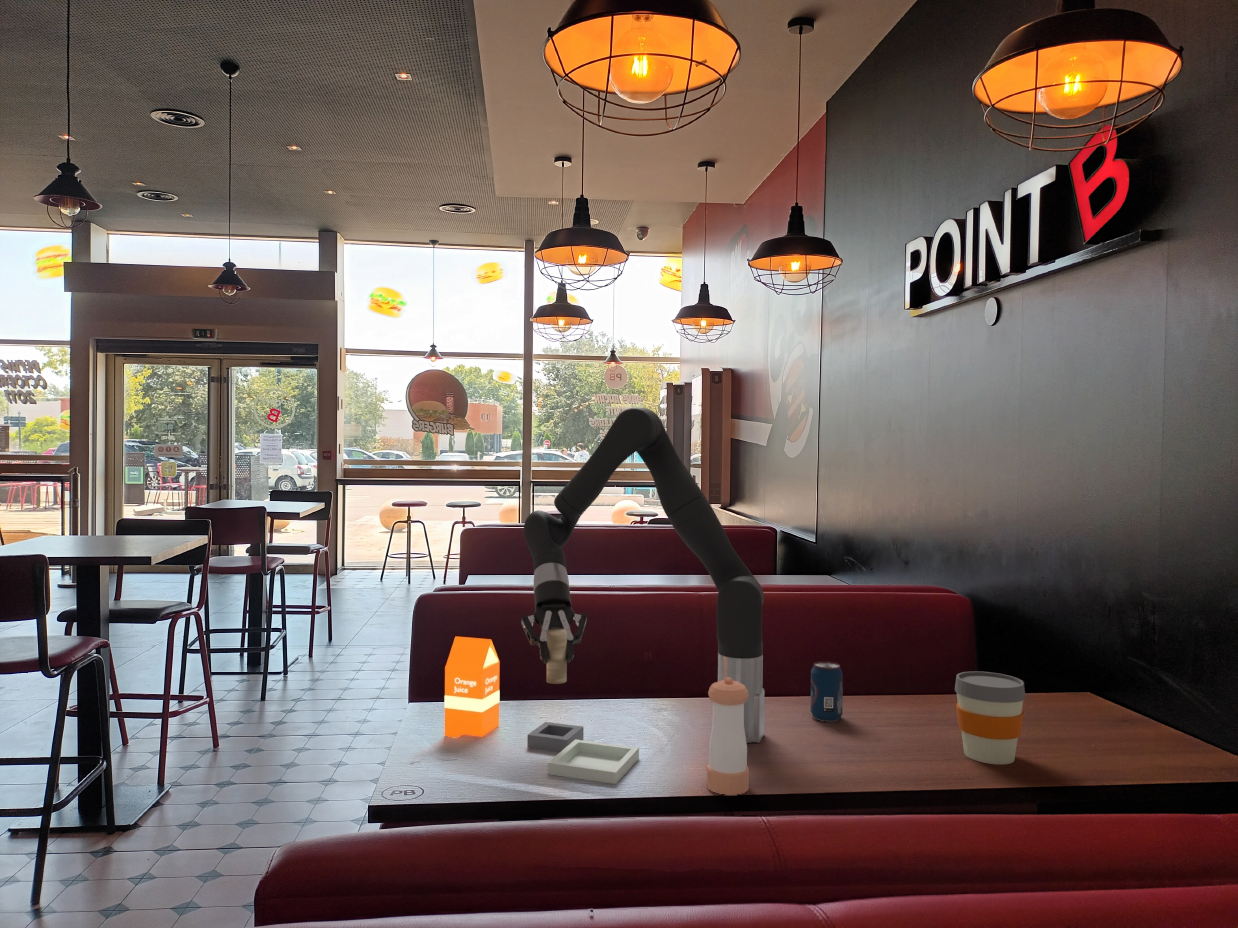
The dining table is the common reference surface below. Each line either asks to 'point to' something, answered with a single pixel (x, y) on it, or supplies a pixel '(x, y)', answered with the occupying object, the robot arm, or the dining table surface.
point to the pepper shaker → (728, 739)
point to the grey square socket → (554, 736)
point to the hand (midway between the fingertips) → (557, 660)
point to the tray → (593, 761)
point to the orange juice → (471, 688)
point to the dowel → (557, 656)
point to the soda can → (826, 691)
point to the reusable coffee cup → (989, 715)
